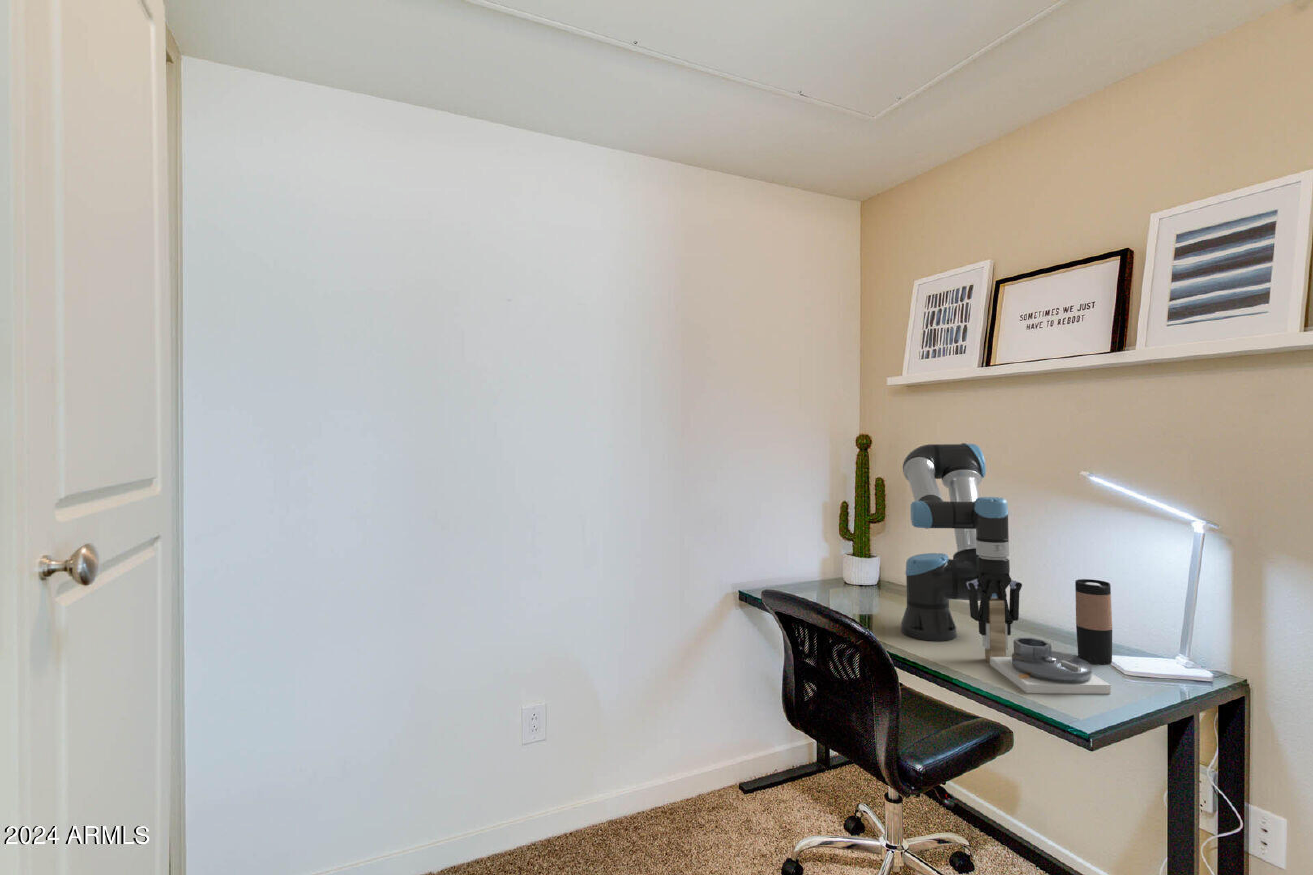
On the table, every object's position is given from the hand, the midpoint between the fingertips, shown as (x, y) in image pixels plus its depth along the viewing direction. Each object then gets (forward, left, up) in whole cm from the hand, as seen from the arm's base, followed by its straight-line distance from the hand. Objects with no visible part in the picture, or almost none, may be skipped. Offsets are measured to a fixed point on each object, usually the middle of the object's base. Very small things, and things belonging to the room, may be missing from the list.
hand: (995, 647), depth 159 cm
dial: (+12, +7, -1) cm, 14 cm away
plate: (+11, +7, -4) cm, 14 cm away
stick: (0, 0, -4) cm, 4 cm away
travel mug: (-2, +26, -4) cm, 26 cm away
